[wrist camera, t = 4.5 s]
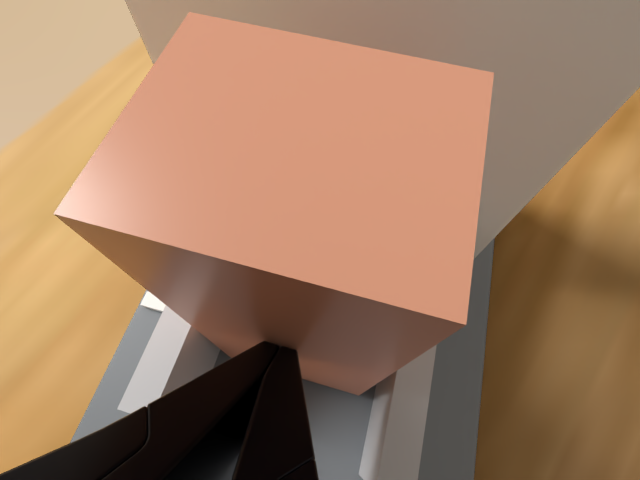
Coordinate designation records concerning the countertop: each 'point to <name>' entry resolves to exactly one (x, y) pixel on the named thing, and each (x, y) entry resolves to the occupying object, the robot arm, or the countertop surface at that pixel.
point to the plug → (295, 195)
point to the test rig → (494, 214)
